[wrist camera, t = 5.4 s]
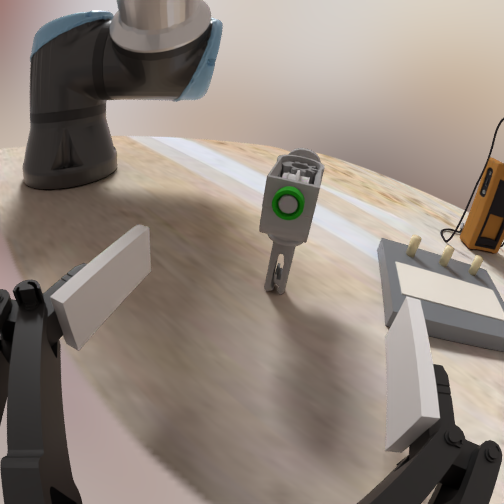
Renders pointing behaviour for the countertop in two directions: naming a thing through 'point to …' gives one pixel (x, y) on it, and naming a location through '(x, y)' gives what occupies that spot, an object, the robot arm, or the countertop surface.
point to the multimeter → (485, 209)
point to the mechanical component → (289, 208)
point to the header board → (442, 293)
